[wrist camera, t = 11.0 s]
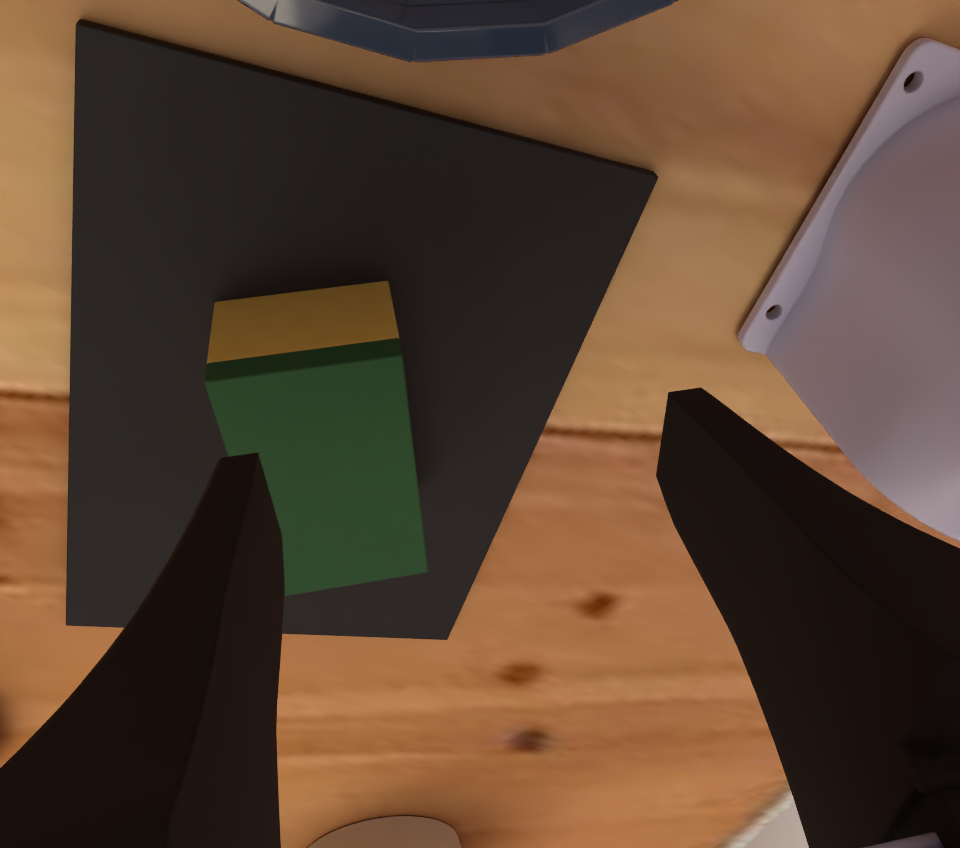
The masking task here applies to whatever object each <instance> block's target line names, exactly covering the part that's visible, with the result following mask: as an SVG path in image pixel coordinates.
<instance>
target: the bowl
mask: <svg viewBox="0 0 960 848" xmlns="http://www.w3.org/2000/svg"><path fill="white" fill-rule="evenodd" d="M238 1H239V2H241V3H242V4H244V5H245V6H247V7H248V8H250V9H251V10H253V11H254V12H256V13H258V14H259V15H261V16H262V17H264V18H265V19H267V20H272V22H273V23H274V24H277V25H281V26H284V27H288V28H292V29H295V30H299V31H302V32H306V33H309V34H313V35H316V36H320V37H323V38H327V39H330V40H334V41H337V42H341V43H344V44H348V45H351V46H355V47H358V48H362V49H365V50H369V51H372V52H376V53H379V54H383V55H387V56H390V57H394V58H397V59H401V60H404V61H408V62H412V61H414V62H430V61H448V60H466V59H485V58H503V57H521V56H539V55H544V54H546V53H547V54H550V53H553V52H555V51H558V50H560V49H563V48H565V47H568V46H570V45H573V44H575V43H578V42H580V41H583V40H585V39H587V38H590V37H592V36H595V35H597V34H600V33H602V32H605V31H607V30H610V29H612V28H615V27H617V26H620V25H622V24H625V23H627V22H630V21H632V20H635V19H637V18H640V17H642V16H645V15H647V14H650V13H652V12H654V11H657V10H659V9H662V8H664V7H667V6H669V5H671V4H673V3H674V1H675V2H676V1H678V0H238Z"/></svg>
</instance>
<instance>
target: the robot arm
mask: <svg viewBox="0 0 960 848" xmlns="http://www.w3.org/2000/svg"><path fill="white" fill-rule="evenodd" d="M913 72H914V77H913V80H912V81H911V82H910V83H909V85H907V86H905V87H904V82H905V80H906V78H907V77H908V76H909V75H910V74H912V73H913ZM774 305H776V307H775V308H774V309H773V310H772V311H770V312H768V313H766V312H767V310H768V309H769V308H770V307H772V306H774ZM738 341H739V342H740V344H741V345H742V346H743V348H744V349H745V350H747V351H750V352H755V353H760V354H766V356H767V357H768V358H769V360H770V361H771V362H772V363H773V365H774V366H775V367H776V368H777V370H778V371H779V372H780V374H781V375H782V376H783V377H784V379H785V380H786V381H787V382H788V384H789V385H790V386H791V387H792V389H793V390H794V391H795V392H796V394H797V395H798V396H799V397H800V399H801V400H802V401H803V402H804V404H805V405H806V406H807V407H808V409H809V410H810V411H811V412H812V414H813V415H814V416H815V418H816V419H817V420H818V421H819V423H820V424H821V425H822V426H823V428H824V429H825V430H826V431H827V433H828V434H829V435H830V436H831V438H832V439H833V440H834V441H835V443H836V444H837V445H838V446H839V448H840V449H841V450H842V451H843V453H844V454H845V455H846V457H847V458H848V459H849V460H850V462H851V463H852V464H853V465H854V467H855V468H856V469H857V470H858V471H859V472H860V473H861V474H862V475H863V476H864V478H865V479H867V480H868V481H869V482H870V483H871V484H872V485H873V486H874V487H875V488H876V489H877V490H878V491H880V492H881V493H882V494H883V495H884V496H886V497H887V498H888V499H889V500H891V501H892V502H893V503H895V504H896V505H897V506H899V507H900V508H901V509H903V510H904V511H905V512H907V513H908V514H910V515H911V516H913V517H914V518H916V519H917V520H919V521H920V522H922V523H924V524H925V525H927V526H929V527H931V528H932V529H934V530H936V531H938V532H940V533H942V534H944V535H947V536H949V537H951V538H954V539H956V540H959V541H960V49H957V48H954V47H952V46H949V45H946V44H944V43H941V42H939V41H936V40H933V39H931V38H920V39H917V40H915V41H914V42H912V43H911V44H910V45H908V47H907V48H906V49H905V50H904V52H903V53H902V55H901V56H900V58H899V60H898V62H897V63H896V65H895V67H894V68H893V70H892V72H891V73H890V75H889V77H888V79H887V80H886V82H885V84H884V85H883V87H882V89H881V91H880V92H879V94H878V96H877V97H876V99H875V101H874V103H873V104H872V106H871V108H870V109H869V111H868V113H867V114H866V116H865V118H864V120H863V121H862V123H861V125H860V126H859V128H858V130H857V132H856V133H855V135H854V137H853V138H852V140H851V142H850V143H849V145H848V147H847V149H846V150H845V152H844V154H843V155H842V157H841V159H840V161H839V162H838V164H837V166H836V167H835V169H834V171H833V173H832V174H831V176H830V178H829V179H828V181H827V183H826V184H825V186H824V188H823V190H822V191H821V193H820V195H819V196H818V198H817V200H816V202H815V203H814V205H813V207H812V208H811V210H810V212H809V213H808V215H807V217H806V219H805V220H804V222H803V224H802V225H801V227H800V229H799V231H798V232H797V234H796V236H795V237H794V239H793V241H792V243H791V244H790V246H789V248H788V249H787V251H786V253H785V254H784V256H783V258H782V260H781V261H780V263H779V265H778V266H777V268H776V270H775V272H774V273H773V275H772V277H771V278H770V280H769V282H768V283H767V285H766V287H765V289H764V290H763V292H762V294H761V295H760V297H759V299H758V301H757V302H756V304H755V306H754V307H753V309H752V311H751V312H750V314H749V316H748V318H747V319H746V321H745V323H744V324H743V326H742V328H741V330H740V332H739V334H738ZM656 477H657V479H658V482H659V485H660V488H661V491H662V494H663V497H664V500H665V502H666V505H667V508H668V510H669V513H670V515H671V518H672V521H673V523H674V525H675V527H676V529H677V531H678V533H679V535H680V537H681V539H682V541H683V543H684V545H685V547H686V549H687V551H688V552H689V554H690V556H691V558H692V560H693V562H694V564H695V566H696V568H697V569H698V571H699V573H700V575H701V577H702V579H703V581H704V583H705V584H706V586H707V588H708V590H709V592H710V594H711V596H712V598H713V599H714V601H715V603H716V605H717V607H718V609H719V611H720V613H721V614H722V616H723V618H724V620H725V622H726V624H727V626H728V628H729V630H730V632H731V634H732V636H733V638H734V641H735V643H736V645H737V647H738V650H739V652H740V655H741V657H742V659H743V662H744V664H745V667H746V669H747V672H748V674H749V677H750V679H751V682H752V684H753V687H754V689H755V692H756V694H757V697H758V700H759V702H760V705H761V708H762V710H763V713H764V716H765V718H766V721H767V724H768V726H769V729H770V732H771V735H772V737H773V740H774V743H775V745H776V748H777V751H778V754H779V757H780V760H781V763H782V766H783V769H784V772H785V775H786V777H787V780H788V783H789V786H790V789H791V792H792V795H793V798H794V801H795V804H796V807H797V810H798V813H799V817H800V820H801V823H802V826H803V830H804V833H805V836H806V839H807V842H808V845H809V848H960V548H957V547H955V546H953V545H951V544H949V543H946V542H944V541H942V540H940V539H938V538H936V537H933V536H931V535H929V534H927V533H925V532H922V531H920V530H918V529H916V528H914V527H912V526H910V525H908V524H906V523H904V522H902V521H900V520H898V519H896V518H894V517H892V516H891V515H889V514H887V513H885V512H883V511H881V510H880V509H878V508H876V507H874V506H872V505H870V504H869V503H867V502H865V501H863V500H861V499H860V498H858V497H856V496H855V495H853V494H851V493H849V492H848V491H846V490H844V489H843V488H841V487H840V486H838V485H837V484H835V483H833V482H832V481H830V480H829V479H827V478H826V477H824V476H822V475H821V474H819V473H818V472H816V471H815V470H813V469H812V468H810V467H809V466H807V465H806V464H804V463H803V462H801V461H800V460H798V459H797V458H796V457H794V456H793V455H791V454H790V453H788V452H787V451H786V450H784V449H783V448H781V447H780V446H779V445H777V444H776V443H774V442H773V441H772V440H770V439H769V438H768V437H766V436H765V435H764V434H762V433H761V432H760V431H758V430H757V429H756V428H754V427H753V426H752V425H750V424H749V423H748V422H746V421H745V420H744V419H742V418H741V417H740V416H738V415H737V414H736V413H735V412H733V411H732V410H731V409H729V408H728V407H727V406H725V405H724V404H723V403H721V402H720V401H719V400H717V399H716V398H715V397H713V396H712V395H711V394H709V393H708V392H707V391H705V390H704V389H702V388H695V389H688V390H681V391H674V392H668V399H667V406H666V412H665V419H664V426H663V432H662V439H661V446H660V453H659V459H658V466H657V473H656ZM284 596H285V579H284V559H283V542H282V533H281V529H280V526H279V523H278V519H277V516H276V512H275V509H274V505H273V502H272V498H271V495H270V491H269V488H268V485H267V481H266V478H265V474H264V471H263V467H262V464H261V460H260V457H259V453H258V452H257V453H250V454H243V455H237V456H230V457H223V458H221V459H220V460H219V461H218V462H217V463H216V465H215V468H214V470H213V472H212V475H211V477H210V479H209V481H208V484H207V486H206V488H205V490H204V493H203V495H202V497H201V499H200V501H199V503H198V505H197V507H196V509H195V511H194V513H193V515H192V517H191V519H190V521H189V523H188V525H187V527H186V529H185V530H184V532H183V534H182V536H181V538H180V540H179V542H178V543H177V545H176V547H175V549H174V551H173V553H172V554H171V556H170V558H169V560H168V561H167V563H166V565H165V566H164V568H163V570H162V571H161V573H160V574H159V576H158V578H157V579H156V581H155V582H154V584H153V586H152V587H151V589H150V591H149V592H148V594H147V595H146V597H145V599H144V600H143V602H142V603H141V605H140V606H139V608H138V609H137V611H136V612H135V613H134V615H133V616H132V618H131V619H130V621H129V622H128V624H127V625H126V626H125V628H124V629H123V630H122V632H121V633H120V635H119V636H118V637H117V639H116V640H115V641H114V643H113V644H112V645H111V647H110V648H109V649H108V651H107V652H106V653H105V654H104V656H103V657H102V658H101V659H100V661H99V662H98V663H97V664H96V665H95V667H94V668H93V669H92V670H91V672H90V673H89V674H88V675H87V676H86V678H85V679H84V680H83V681H82V683H81V684H80V685H79V686H78V687H77V688H76V690H75V691H74V692H73V693H72V694H71V695H70V697H69V698H68V699H67V700H66V701H65V702H64V703H63V704H62V706H61V707H60V708H59V709H58V710H57V711H56V712H55V713H54V714H53V715H52V716H51V717H50V718H49V719H48V720H47V721H46V722H45V723H44V724H43V725H42V727H41V728H40V729H39V730H38V731H37V732H36V733H35V734H34V735H33V736H32V737H31V738H30V739H29V740H28V741H27V742H26V743H25V744H24V745H23V746H22V747H21V748H20V749H19V750H18V751H17V752H16V753H15V754H14V755H13V756H12V757H11V758H10V759H9V760H8V761H7V762H6V763H5V764H4V765H3V766H2V767H1V768H0V848H281V843H280V820H279V798H278V771H277V740H276V722H277V698H278V683H279V669H280V655H281V641H282V627H283V611H284Z"/></svg>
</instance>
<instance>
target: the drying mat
mask: <svg viewBox="0 0 960 848" xmlns="http://www.w3.org/2000/svg"><path fill="white" fill-rule="evenodd" d="M657 179H658V176H657V175H656V174H655V173H654V172H653V171H650V170H646V169H643V168H639V167H635V166H631V165H628V164H624V163H620V162H616V161H612V160H609V159H605V158H601V157H597V156H594V155H590V154H586V153H582V152H578V151H575V150H571V149H567V148H563V147H560V146H556V145H552V144H548V143H545V142H541V141H537V140H533V139H529V138H526V137H522V136H518V135H514V134H511V133H507V132H503V131H499V130H496V129H492V128H488V127H484V126H480V125H477V124H473V123H469V122H465V121H462V120H458V119H454V118H450V117H447V116H443V115H439V114H435V113H431V112H428V111H424V110H420V109H416V108H413V107H409V106H405V105H401V104H397V103H394V102H390V101H386V100H382V99H379V98H375V97H371V96H367V95H364V94H360V93H356V92H352V91H348V90H345V89H341V88H337V87H333V86H330V85H326V84H322V83H318V82H315V81H311V80H307V79H303V78H299V77H296V76H292V75H288V74H284V73H281V72H277V71H273V70H269V69H266V68H262V67H258V66H254V65H250V64H247V63H243V62H239V61H235V60H232V59H228V58H224V57H220V56H216V55H213V54H209V53H205V52H201V51H198V50H194V49H190V48H186V47H183V46H179V45H175V44H171V43H167V42H164V41H160V40H156V39H152V38H149V37H145V36H141V35H137V34H134V33H130V32H126V31H122V30H118V29H115V28H111V27H107V26H103V25H100V24H96V23H92V22H88V21H85V20H79V21H78V22H77V24H76V47H75V107H74V167H73V228H72V288H71V348H70V409H69V469H68V529H67V589H66V625H70V626H96V627H123V628H125V626H126V625H127V624H128V622H129V621H130V619H131V618H132V616H133V615H134V613H135V612H136V611H137V609H138V608H139V606H140V605H141V603H142V602H143V600H144V599H145V597H146V595H147V594H148V592H149V591H150V589H151V587H152V586H153V584H154V582H155V581H156V579H157V578H158V576H159V574H160V573H161V571H162V570H163V568H164V566H165V565H166V563H167V561H168V560H169V558H170V556H171V554H172V553H173V551H174V549H175V547H176V545H177V543H178V542H179V540H180V538H181V536H182V534H183V532H184V530H185V529H186V527H187V525H188V523H189V521H190V519H191V517H192V515H193V513H194V511H195V509H196V507H197V505H198V503H199V501H200V499H201V497H202V495H203V493H204V490H205V488H206V486H207V484H208V481H209V479H210V477H211V475H212V472H213V470H214V468H215V465H216V463H217V462H218V461H219V460H220V459H221V458H223V457H228V454H227V451H226V448H225V445H224V442H223V439H222V436H221V433H220V430H219V427H218V423H217V420H216V417H215V414H214V411H213V408H212V405H211V402H210V399H209V396H208V392H207V389H206V386H205V383H204V382H205V374H206V366H207V358H208V350H209V343H210V335H211V327H212V319H213V311H214V304H215V302H219V301H227V300H235V299H243V298H251V297H259V296H268V295H276V294H284V293H292V292H300V291H308V290H316V289H324V288H332V287H340V286H348V285H356V284H364V283H372V282H381V281H388V282H389V288H390V293H391V298H392V303H393V308H394V313H395V319H396V324H397V329H398V334H399V340H400V344H401V350H402V355H403V362H404V371H405V379H406V388H407V396H408V404H409V413H410V421H411V430H412V438H413V446H414V455H415V463H416V472H417V480H418V488H419V497H420V505H421V514H422V522H423V530H424V539H425V547H426V556H427V564H428V572H426V573H420V574H414V575H408V576H402V577H396V578H390V579H384V580H378V581H372V582H366V583H360V584H354V585H348V586H342V587H336V588H330V589H324V590H318V591H312V592H306V593H301V594H295V595H289V596H284V611H283V627H282V634H307V635H334V636H360V637H386V638H413V639H439V640H447V639H448V637H449V634H450V632H451V630H452V628H453V626H454V623H455V621H456V619H457V617H458V615H459V613H460V610H461V608H462V606H463V604H464V602H465V599H466V597H467V595H468V593H469V591H470V588H471V586H472V584H473V582H474V580H475V577H476V575H477V573H478V571H479V569H480V567H481V564H482V562H483V560H484V558H485V556H486V553H487V551H488V549H489V547H490V545H491V542H492V540H493V538H494V536H495V534H496V532H497V529H498V527H499V525H500V523H501V521H502V518H503V516H504V514H505V512H506V510H507V507H508V505H509V503H510V501H511V499H512V496H513V494H514V492H515V490H516V488H517V486H518V483H519V481H520V479H521V477H522V475H523V472H524V470H525V468H526V466H527V464H528V461H529V459H530V457H531V455H532V453H533V451H534V448H535V446H536V444H537V442H538V440H539V437H540V435H541V433H542V431H543V429H544V426H545V424H546V422H547V420H548V418H549V416H550V413H551V411H552V409H553V407H554V405H555V402H556V400H557V398H558V396H559V394H560V391H561V389H562V387H563V385H564V383H565V380H566V378H567V376H568V374H569V372H570V370H571V367H572V365H573V363H574V361H575V359H576V356H577V354H578V352H579V350H580V348H581V345H582V343H583V341H584V339H585V337H586V335H587V332H588V330H589V328H590V326H591V324H592V321H593V319H594V317H595V315H596V313H597V310H598V308H599V306H600V304H601V302H602V299H603V297H604V295H605V293H606V291H607V289H608V286H609V284H610V282H611V280H612V278H613V275H614V273H615V271H616V269H617V267H618V264H619V262H620V260H621V258H622V256H623V254H624V251H625V249H626V247H627V245H628V243H629V240H630V238H631V236H632V234H633V232H634V229H635V227H636V225H637V223H638V221H639V218H640V216H641V214H642V212H643V210H644V208H645V205H646V203H647V201H648V199H649V197H650V194H651V192H652V190H653V188H654V186H655V183H656V181H657Z"/></svg>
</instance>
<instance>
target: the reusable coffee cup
mask: <svg viewBox="0 0 960 848" xmlns="http://www.w3.org/2000/svg"><path fill="white" fill-rule="evenodd" d="M308 848H461V845H460V841H459V838H458V835H457V833H456V832H455V830H454V829H453V828H451V827H450V826H449V825H447V824H445V823H443V822H441V821H438V820H435V819H430V818H425V817H415V816H393V817H385V818H377V819H372V820H367V821H362V822H358V823H355V824H352V825H348V826H345V827H343V828H340V829H338V830H335V831H333V832H331V833H329V834H327V835H325V836H323V837H322V838H320V839H318V840H317V841H315V842H314V843H313V844H312V845H310V846H309V847H308Z"/></svg>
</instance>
